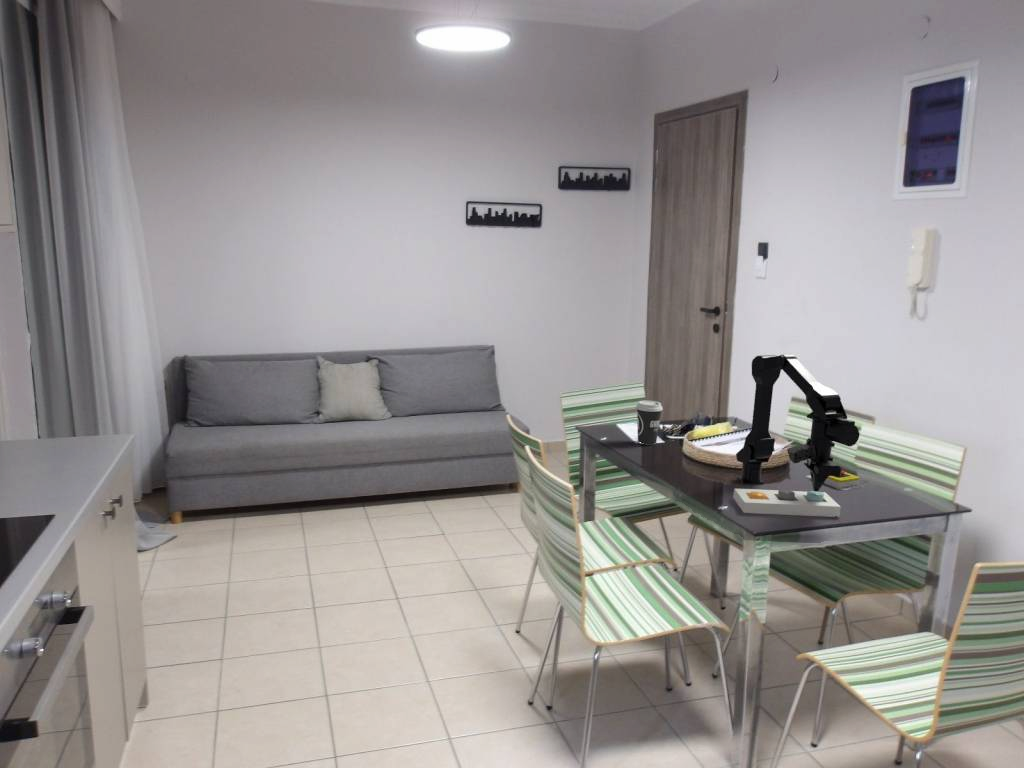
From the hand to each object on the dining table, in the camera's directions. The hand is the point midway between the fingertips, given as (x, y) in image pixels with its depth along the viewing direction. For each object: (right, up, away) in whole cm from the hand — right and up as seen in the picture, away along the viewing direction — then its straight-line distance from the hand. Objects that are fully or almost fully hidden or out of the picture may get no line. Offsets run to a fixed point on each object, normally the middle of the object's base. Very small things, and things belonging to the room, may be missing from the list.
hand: (815, 491), depth 223 cm
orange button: (-16, -3, +1) cm, 17 cm away
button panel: (-8, -5, +1) cm, 10 cm away
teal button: (0, -3, +1) cm, 3 cm away
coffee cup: (-36, +8, +65) cm, 75 cm away
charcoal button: (-8, -3, +1) cm, 9 cm away
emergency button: (+16, -1, +27) cm, 31 cm away
